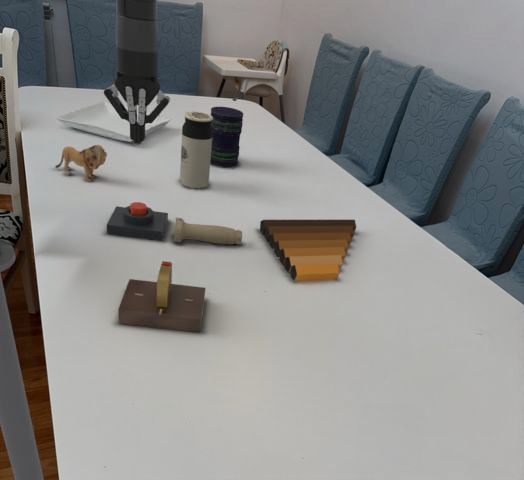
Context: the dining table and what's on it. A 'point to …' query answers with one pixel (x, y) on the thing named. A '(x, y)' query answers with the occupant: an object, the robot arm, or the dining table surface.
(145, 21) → the robot arm
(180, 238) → the handle
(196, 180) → the travel mug
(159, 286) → the lock knob
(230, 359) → the dining table surface
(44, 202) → the dining table surface
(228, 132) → the storage jar
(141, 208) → the button
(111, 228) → the button housing
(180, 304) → the panel
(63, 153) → the lion figurine
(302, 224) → the pan flute
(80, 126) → the square plate
